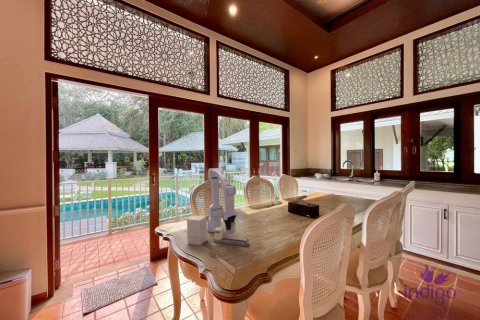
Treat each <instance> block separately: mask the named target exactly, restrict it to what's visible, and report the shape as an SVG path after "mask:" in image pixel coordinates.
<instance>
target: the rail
mask: <svg viewBox="0 0 480 320" xmlns="http://www.w3.org/2000/svg"><path fill="white" fill-rule="evenodd" d="M249 241H250V239H249V238H246V239H238V238H231V237H230V238H227V237H223V238H222V239H221V240H217V239H214V238H213V243H216V244H224V245H225V244H226V245H231V246H232V245H233V246H238V247H239V246H240V247H246V248H247V247H248V246H249V244H250V242H249Z"/></svg>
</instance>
